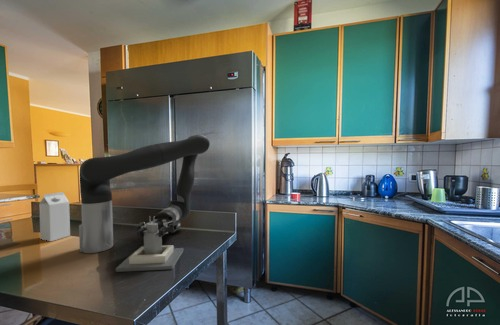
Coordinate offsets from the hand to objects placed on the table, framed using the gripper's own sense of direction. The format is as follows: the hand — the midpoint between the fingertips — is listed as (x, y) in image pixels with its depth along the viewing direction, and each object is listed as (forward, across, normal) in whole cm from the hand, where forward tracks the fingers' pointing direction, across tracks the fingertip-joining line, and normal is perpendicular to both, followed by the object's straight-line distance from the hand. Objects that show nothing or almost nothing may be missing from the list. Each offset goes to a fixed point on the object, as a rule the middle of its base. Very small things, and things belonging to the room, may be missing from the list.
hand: (149, 234), depth 68 cm
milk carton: (-28, -50, +10) cm, 58 cm away
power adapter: (-2, 0, +7) cm, 8 cm away
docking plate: (-2, 0, +9) cm, 9 cm away
